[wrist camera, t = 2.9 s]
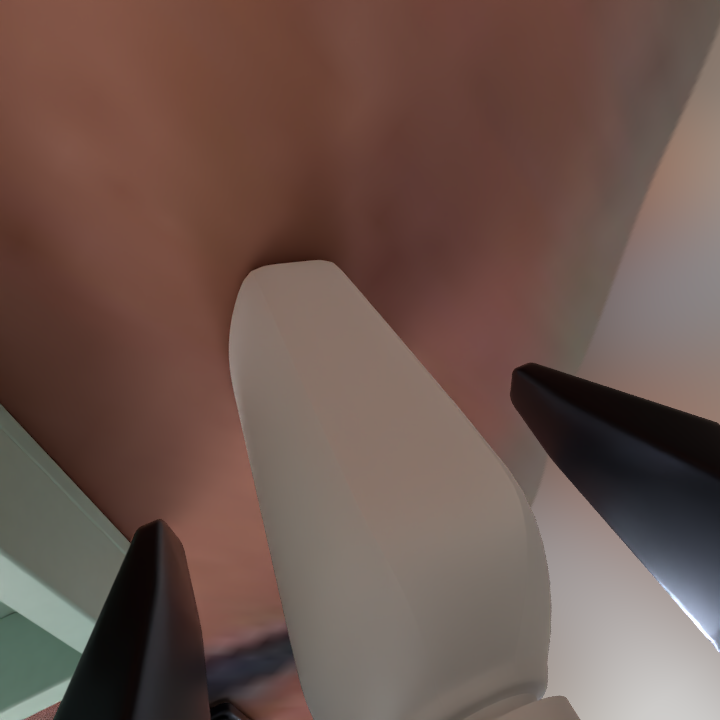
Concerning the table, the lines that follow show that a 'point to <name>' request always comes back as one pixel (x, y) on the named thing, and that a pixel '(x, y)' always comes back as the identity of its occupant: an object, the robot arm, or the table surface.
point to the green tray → (46, 573)
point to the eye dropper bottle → (384, 515)
